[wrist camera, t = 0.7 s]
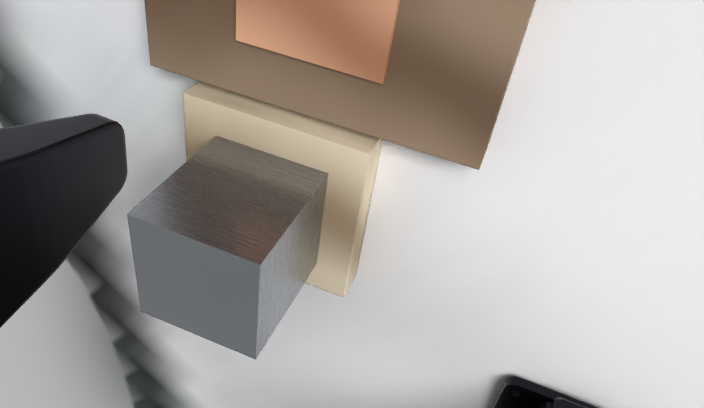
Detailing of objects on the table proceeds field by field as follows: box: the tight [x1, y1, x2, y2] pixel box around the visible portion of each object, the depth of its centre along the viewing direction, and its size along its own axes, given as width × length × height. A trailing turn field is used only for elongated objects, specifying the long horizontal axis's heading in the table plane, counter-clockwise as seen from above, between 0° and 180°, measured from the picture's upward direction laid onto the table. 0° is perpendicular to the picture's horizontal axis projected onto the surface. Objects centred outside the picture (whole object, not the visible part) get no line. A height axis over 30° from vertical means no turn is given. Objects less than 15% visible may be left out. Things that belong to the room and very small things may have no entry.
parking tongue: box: [183, 81, 382, 297], centre depth 23 cm, size 7×7×2 cm
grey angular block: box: [127, 135, 329, 359], centre depth 20 cm, size 4×4×5 cm
